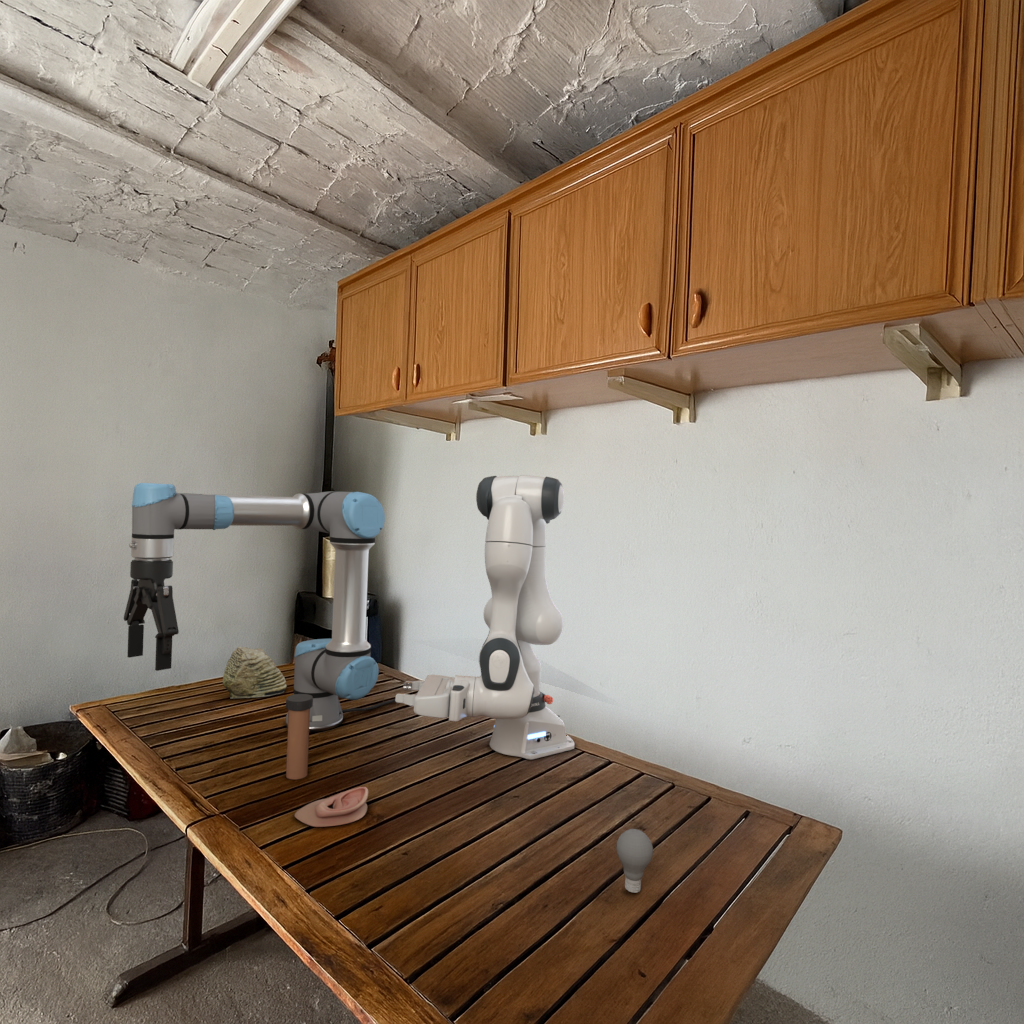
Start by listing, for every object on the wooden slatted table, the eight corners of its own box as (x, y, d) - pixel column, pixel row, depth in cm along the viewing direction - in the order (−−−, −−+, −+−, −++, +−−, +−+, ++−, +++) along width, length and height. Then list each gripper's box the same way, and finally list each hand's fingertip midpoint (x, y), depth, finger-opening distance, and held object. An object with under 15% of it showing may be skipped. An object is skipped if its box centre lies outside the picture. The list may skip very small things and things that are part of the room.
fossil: (218, 695, 195) (220, 647, 195) (278, 685, 208) (279, 640, 207) (228, 703, 189) (230, 653, 188) (289, 692, 201) (290, 645, 201)
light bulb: (610, 879, 108) (613, 822, 108) (644, 879, 109) (647, 822, 109) (619, 902, 102) (622, 840, 102) (655, 901, 103) (658, 840, 103)
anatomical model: (286, 802, 122) (316, 777, 134) (285, 822, 122) (315, 795, 134) (350, 811, 120) (375, 785, 131) (349, 832, 120) (374, 804, 131)
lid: (282, 704, 144) (283, 695, 144) (308, 701, 147) (308, 692, 147) (290, 712, 139) (290, 703, 139) (316, 708, 143) (316, 699, 143)
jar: (283, 773, 144) (286, 698, 144) (303, 769, 147) (306, 695, 146) (289, 781, 140) (292, 704, 140) (310, 776, 143) (313, 700, 143)
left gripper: (108, 554, 134) (104, 654, 134) (159, 565, 118) (155, 678, 119) (146, 552, 140) (143, 648, 140) (199, 563, 124) (195, 671, 124)
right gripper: (466, 670, 153) (409, 666, 153) (457, 694, 132) (392, 689, 132) (464, 696, 153) (407, 692, 153) (455, 724, 132) (390, 719, 132)
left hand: (148, 662), depth 129 cm, fingers open, 13 cm apart
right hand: (400, 691), depth 143 cm, fingers open, 8 cm apart
